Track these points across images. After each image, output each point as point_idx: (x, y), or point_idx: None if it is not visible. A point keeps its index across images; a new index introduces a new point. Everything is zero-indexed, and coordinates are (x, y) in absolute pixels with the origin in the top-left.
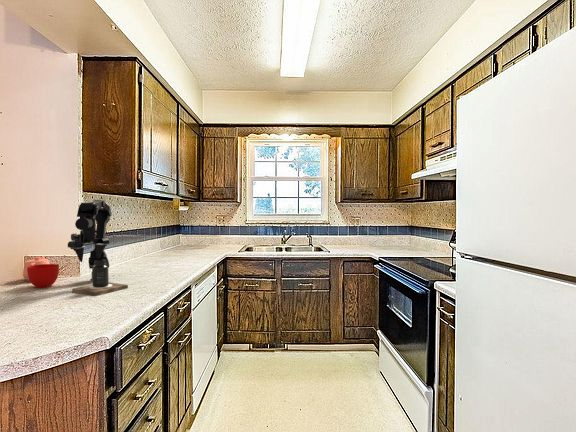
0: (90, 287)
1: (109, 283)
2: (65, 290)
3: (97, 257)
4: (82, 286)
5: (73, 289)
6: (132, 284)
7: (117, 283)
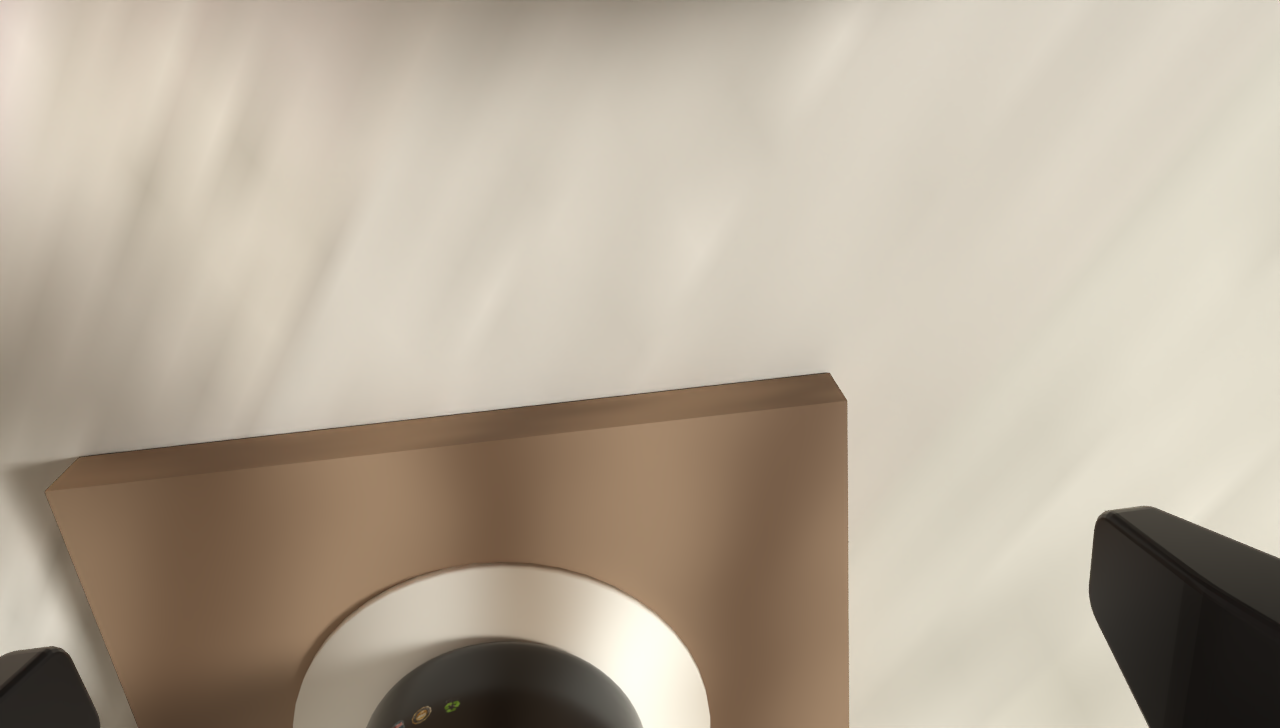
0: (322, 715)
1: (772, 619)
2: (15, 205)
3: (1131, 604)
4: (284, 467)
5: (65, 524)
6: (1071, 718)
7: (845, 723)
